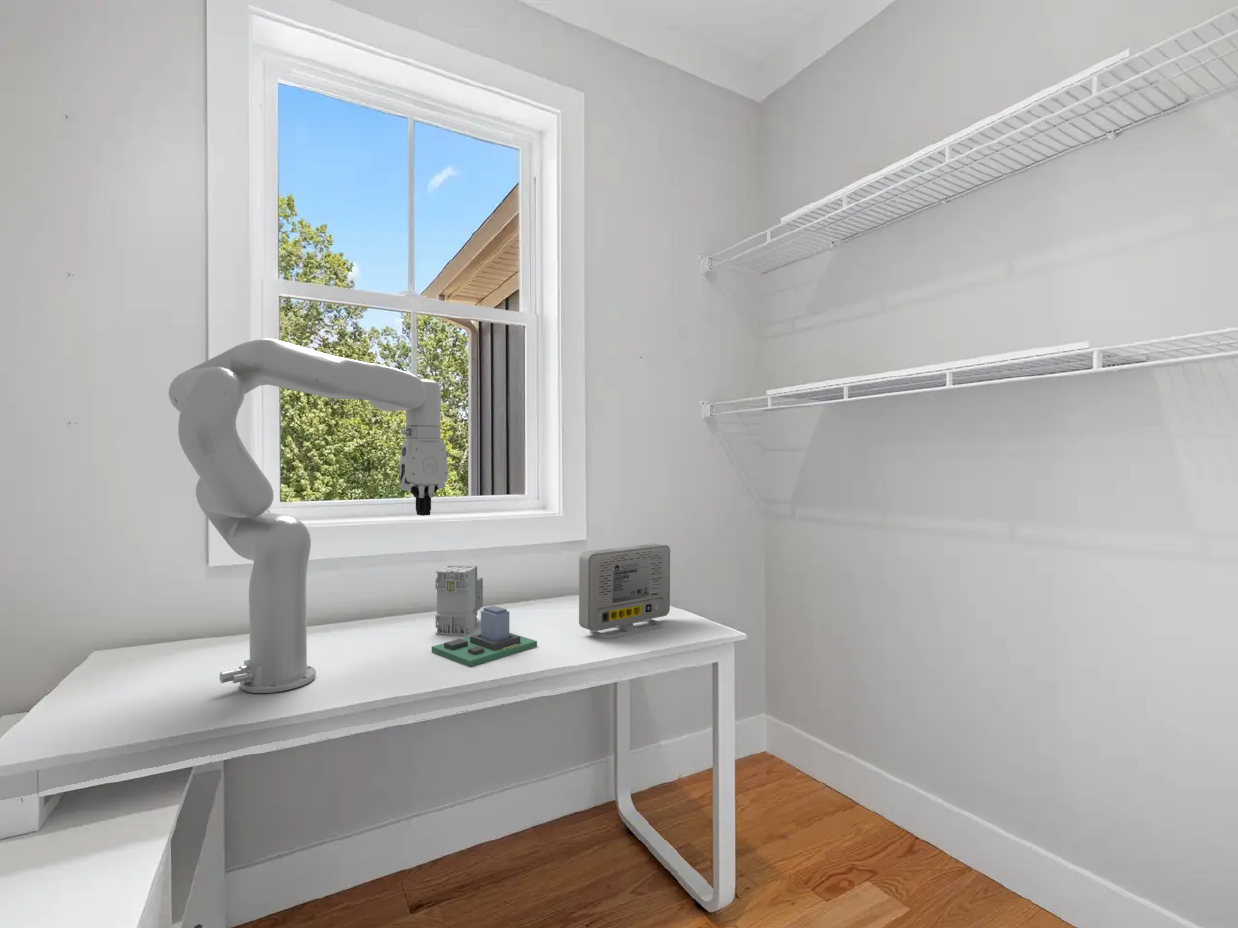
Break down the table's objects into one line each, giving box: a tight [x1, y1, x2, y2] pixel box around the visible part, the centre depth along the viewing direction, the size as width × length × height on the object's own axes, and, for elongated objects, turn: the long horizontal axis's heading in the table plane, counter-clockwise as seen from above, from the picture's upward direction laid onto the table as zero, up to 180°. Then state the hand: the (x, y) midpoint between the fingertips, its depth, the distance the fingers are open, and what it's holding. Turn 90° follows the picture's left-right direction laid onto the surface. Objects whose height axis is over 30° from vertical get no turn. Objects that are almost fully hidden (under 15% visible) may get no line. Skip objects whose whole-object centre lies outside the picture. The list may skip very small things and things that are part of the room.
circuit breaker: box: [435, 565, 484, 636], centre depth 157 cm, size 8×14×15 cm, turn 174°
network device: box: [578, 543, 671, 640], centre depth 156 cm, size 26×9×20 cm, turn 128°
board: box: [431, 632, 538, 668], centre depth 140 cm, size 18×14×3 cm
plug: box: [480, 605, 510, 642], centre depth 140 cm, size 4×5×8 cm
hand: (423, 514), depth 144 cm, fingers closed
